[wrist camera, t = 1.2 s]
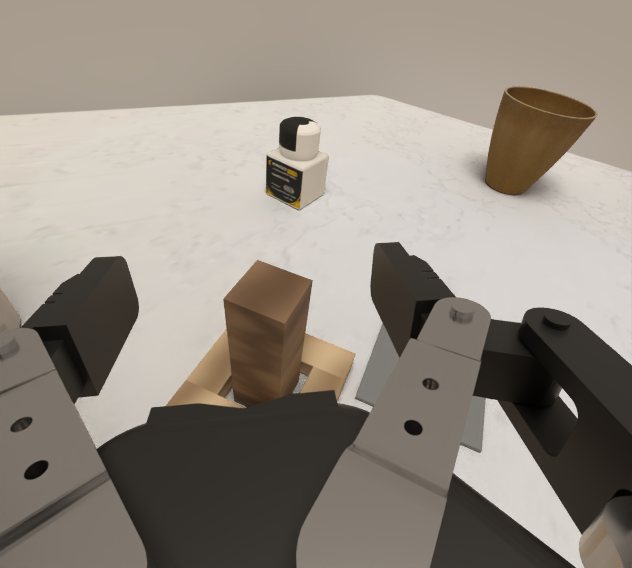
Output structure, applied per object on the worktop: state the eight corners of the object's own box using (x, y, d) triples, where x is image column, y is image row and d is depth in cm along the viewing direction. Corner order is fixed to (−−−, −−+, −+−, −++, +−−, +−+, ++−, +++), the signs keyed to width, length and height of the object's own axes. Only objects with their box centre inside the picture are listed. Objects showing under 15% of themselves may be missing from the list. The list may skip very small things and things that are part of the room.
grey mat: (355, 398, 35) (355, 396, 35) (386, 315, 43) (386, 312, 43) (479, 452, 32) (481, 451, 32) (487, 353, 41) (488, 351, 40)
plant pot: (502, 210, 64) (552, 118, 53) (452, 170, 74) (487, 85, 62) (561, 201, 69) (619, 115, 58) (507, 165, 78) (548, 85, 67)
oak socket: (165, 421, 31) (161, 411, 30) (243, 319, 40) (243, 308, 39) (300, 490, 29) (302, 482, 27) (352, 364, 38) (355, 353, 36)
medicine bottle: (265, 194, 60) (265, 120, 51) (291, 179, 64) (296, 108, 56) (299, 211, 57) (305, 136, 49) (324, 194, 61) (334, 123, 53)
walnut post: (234, 400, 33) (223, 298, 24) (258, 363, 36) (257, 260, 27) (277, 421, 32) (284, 323, 23) (298, 381, 36) (312, 280, 26)
